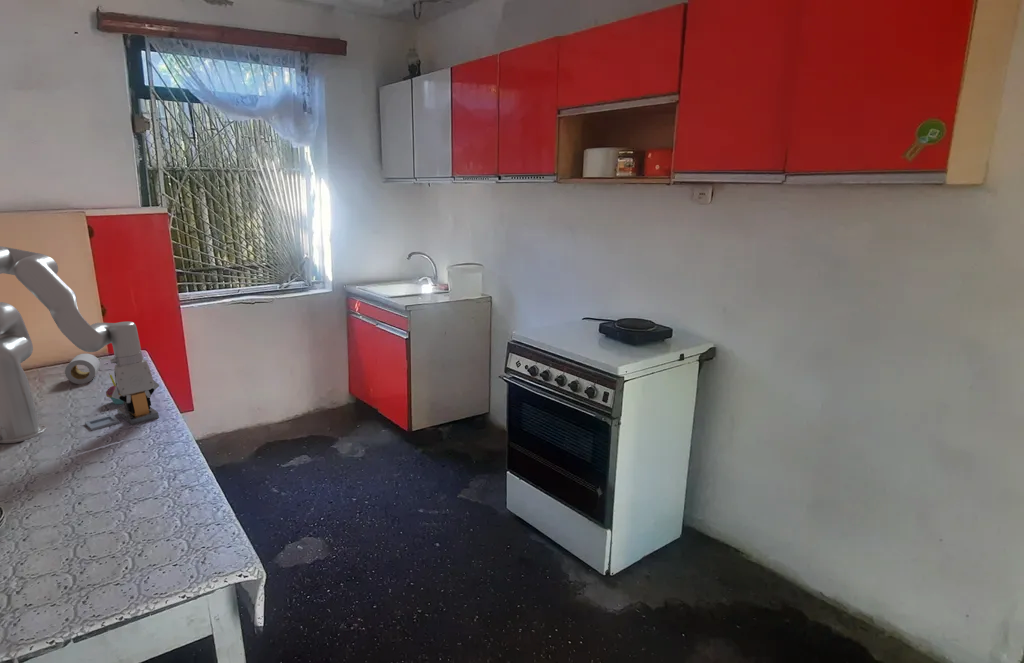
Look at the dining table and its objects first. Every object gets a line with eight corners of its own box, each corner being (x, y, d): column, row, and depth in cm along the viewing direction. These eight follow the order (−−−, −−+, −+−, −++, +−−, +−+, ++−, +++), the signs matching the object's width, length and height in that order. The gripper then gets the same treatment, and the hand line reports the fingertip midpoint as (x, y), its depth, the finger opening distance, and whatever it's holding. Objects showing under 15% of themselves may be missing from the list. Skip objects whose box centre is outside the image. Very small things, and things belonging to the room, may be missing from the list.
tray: (92, 431, 190) (91, 428, 189) (85, 425, 195) (84, 422, 195) (120, 424, 196) (119, 420, 195) (113, 417, 201) (112, 414, 200)
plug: (136, 418, 196) (130, 392, 193) (132, 415, 198) (127, 389, 196) (149, 414, 198) (144, 389, 196) (145, 411, 201) (140, 386, 199)
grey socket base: (159, 419, 199) (154, 391, 196) (132, 426, 193) (126, 398, 190) (143, 407, 209) (138, 381, 207) (118, 414, 203) (112, 387, 201)
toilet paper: (73, 378, 243) (68, 355, 240) (102, 374, 247) (97, 351, 244) (67, 385, 234) (62, 362, 231) (97, 381, 238) (92, 358, 235)
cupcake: (113, 409, 209) (106, 377, 206) (104, 403, 214) (97, 372, 211) (140, 401, 215) (133, 370, 212) (130, 396, 220) (124, 366, 217)
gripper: (103, 367, 185) (115, 421, 190) (161, 355, 197) (171, 405, 201) (96, 363, 190) (108, 415, 194) (153, 351, 202) (163, 400, 206)
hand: (140, 409), depth 198 cm, fingers closed on plug, 4 cm apart
